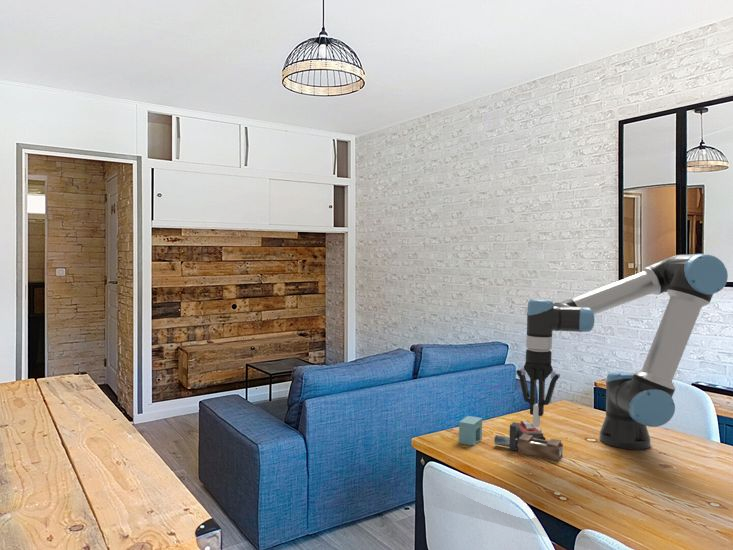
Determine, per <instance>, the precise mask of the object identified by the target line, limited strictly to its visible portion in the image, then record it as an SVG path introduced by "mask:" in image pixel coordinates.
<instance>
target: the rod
mask: <svg viewBox="0 0 733 550" xmlns="http://www.w3.org/2000/svg"><path fill="white" fill-rule="evenodd" d="M520 424H521V422H520V423H519V422H512V423H511V424H510V425H509V436H504V435H499V434H495V436H494V441H493V442H494V445H496V446H501V447H505V448H506V447H507V448H508V449H509V450H512V451H518V439H519V438H520V436H519V432H520ZM530 442H531V443H537V444H542V445H547V444H544V443H538V442H533V441H530ZM558 447H559V457H561V453H562V454H563V449H562V448H561V447H560V446H558ZM561 458H562V457H561Z"/></svg>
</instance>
